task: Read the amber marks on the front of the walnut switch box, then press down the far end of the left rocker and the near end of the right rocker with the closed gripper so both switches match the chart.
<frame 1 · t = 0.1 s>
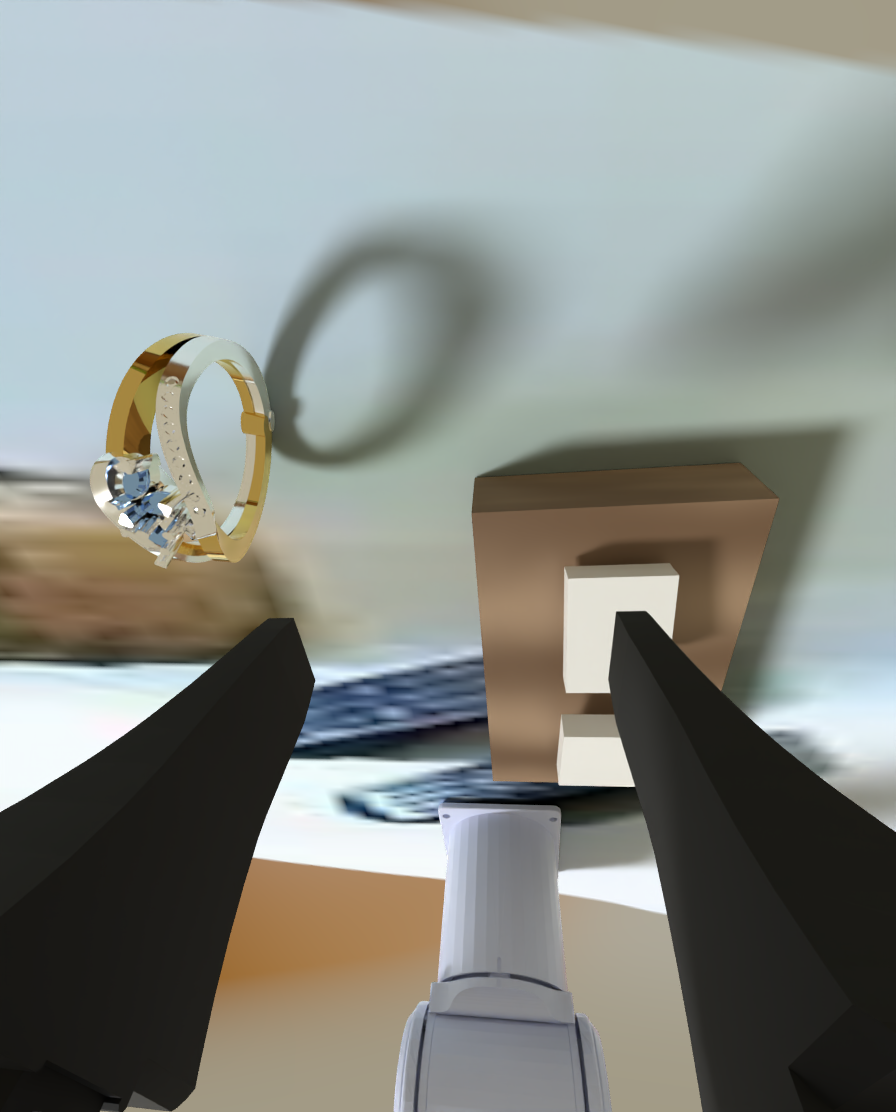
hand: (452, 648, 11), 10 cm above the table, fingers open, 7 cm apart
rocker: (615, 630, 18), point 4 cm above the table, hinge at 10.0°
ring: (266, 416, 19), on the table
switch box: (590, 626, 23), on the table
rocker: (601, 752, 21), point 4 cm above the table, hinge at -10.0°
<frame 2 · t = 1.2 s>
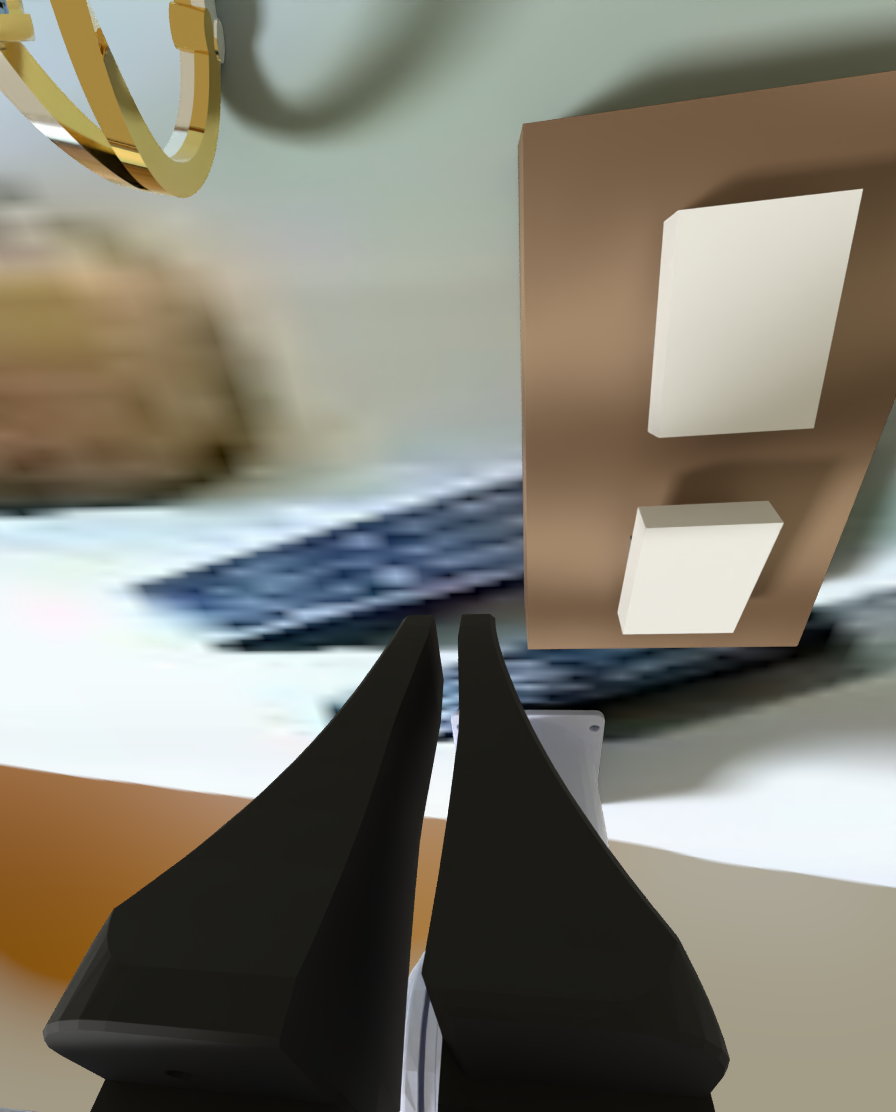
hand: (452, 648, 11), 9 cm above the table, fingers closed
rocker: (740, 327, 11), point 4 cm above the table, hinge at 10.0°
ring: (212, 43, 13), on the table
switch box: (665, 420, 17), on the table
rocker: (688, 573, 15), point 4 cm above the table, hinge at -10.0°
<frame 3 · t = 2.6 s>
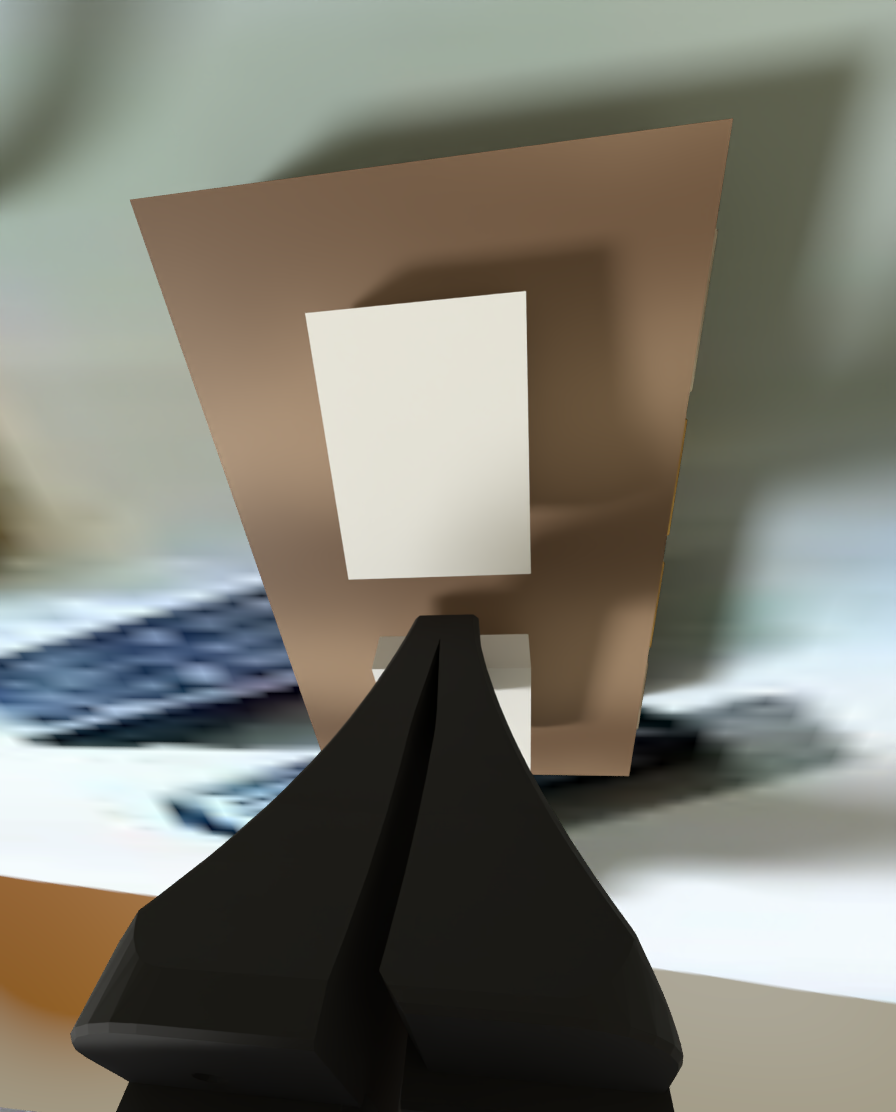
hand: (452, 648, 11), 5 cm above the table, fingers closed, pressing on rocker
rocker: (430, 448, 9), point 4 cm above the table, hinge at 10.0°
switch box: (459, 517, 15), on the table
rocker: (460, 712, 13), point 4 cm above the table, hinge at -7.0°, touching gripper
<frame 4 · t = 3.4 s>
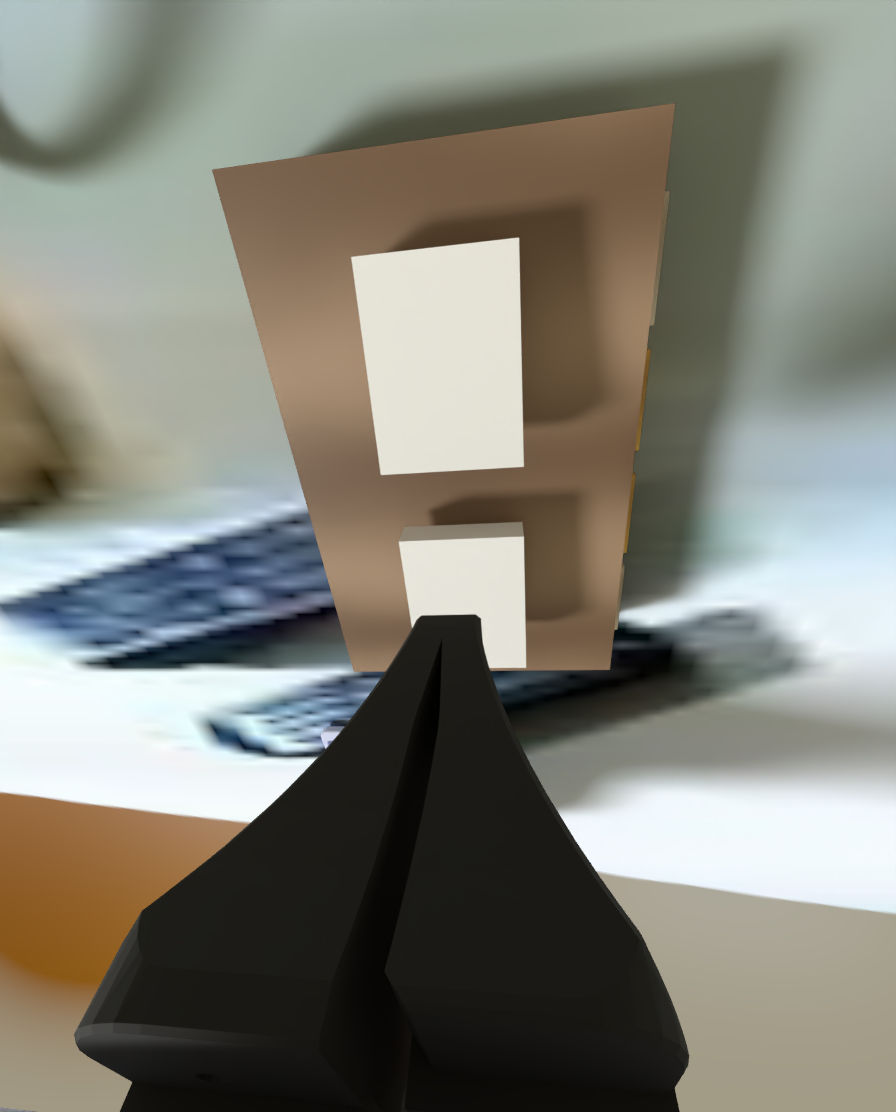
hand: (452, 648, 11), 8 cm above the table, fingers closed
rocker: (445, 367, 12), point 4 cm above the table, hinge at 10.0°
switch box: (465, 447, 17), on the table
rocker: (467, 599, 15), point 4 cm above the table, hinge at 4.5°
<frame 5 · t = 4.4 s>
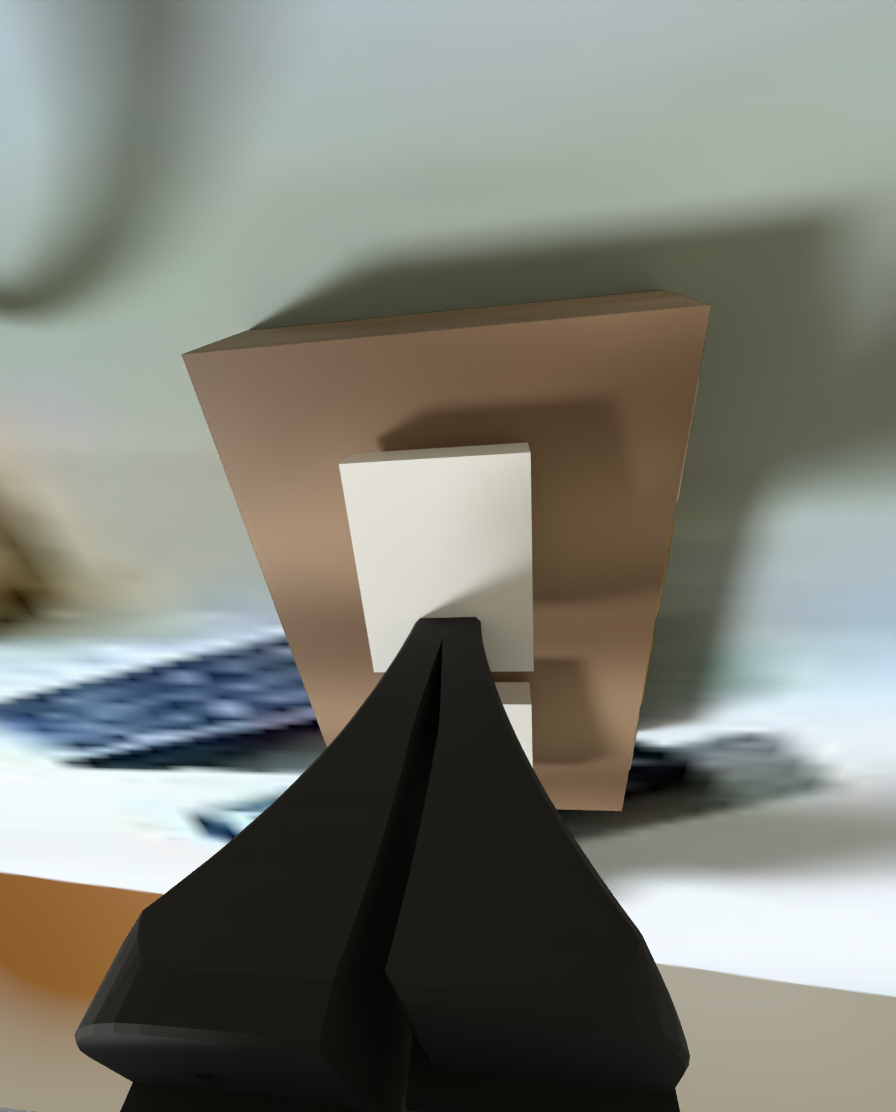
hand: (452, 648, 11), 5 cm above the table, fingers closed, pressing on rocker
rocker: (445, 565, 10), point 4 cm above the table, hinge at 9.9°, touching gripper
switch box: (467, 581, 16), on the table
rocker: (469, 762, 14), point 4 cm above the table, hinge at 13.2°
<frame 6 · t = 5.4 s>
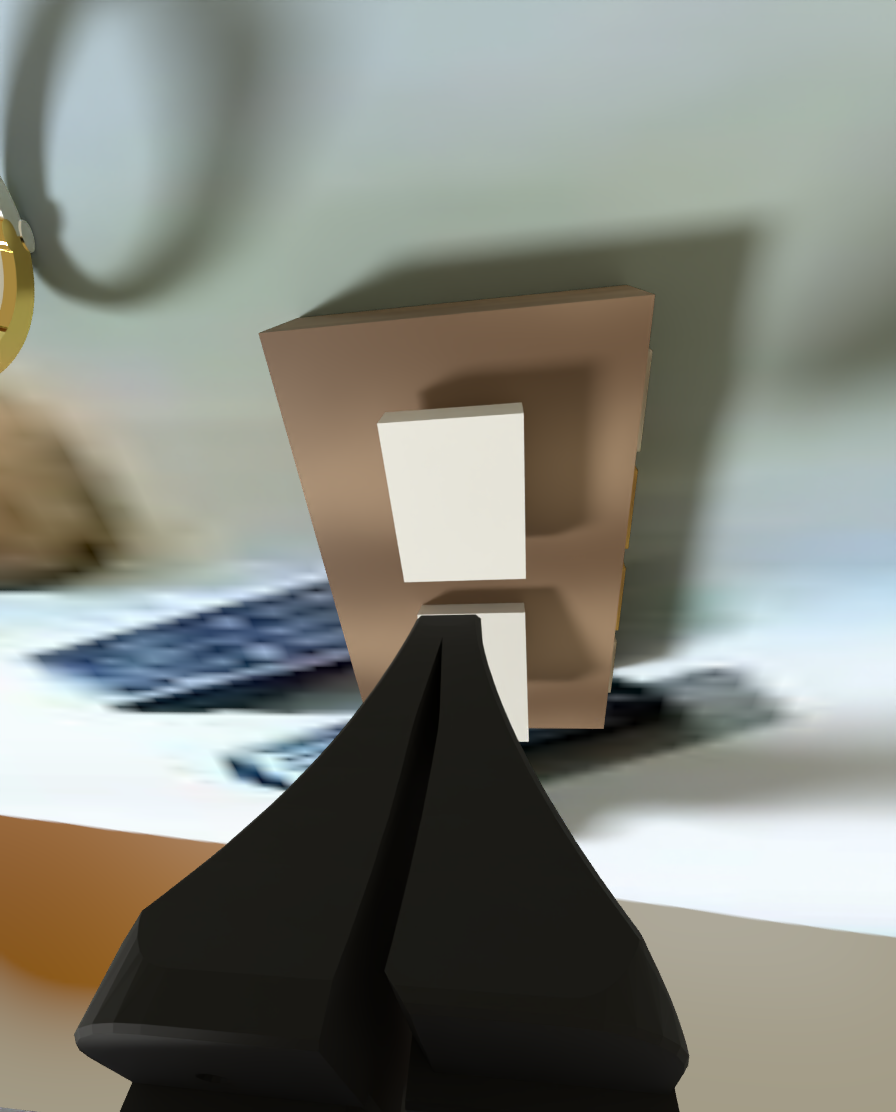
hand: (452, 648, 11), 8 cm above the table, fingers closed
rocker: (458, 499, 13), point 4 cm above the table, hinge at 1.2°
ring: (25, 233, 15), on the table
switch box: (473, 530, 19), on the table
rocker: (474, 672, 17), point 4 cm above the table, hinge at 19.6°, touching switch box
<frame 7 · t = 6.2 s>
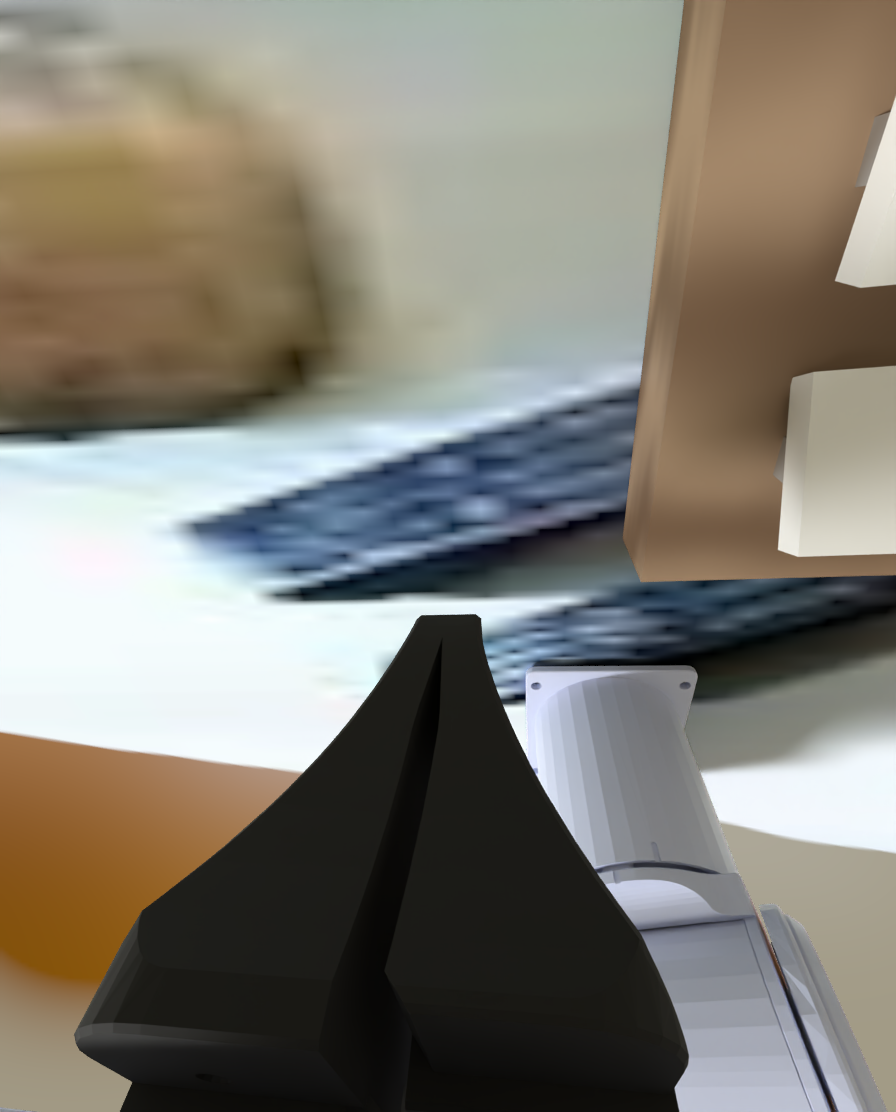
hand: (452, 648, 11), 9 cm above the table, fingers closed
switch box: (817, 307, 15), on the table
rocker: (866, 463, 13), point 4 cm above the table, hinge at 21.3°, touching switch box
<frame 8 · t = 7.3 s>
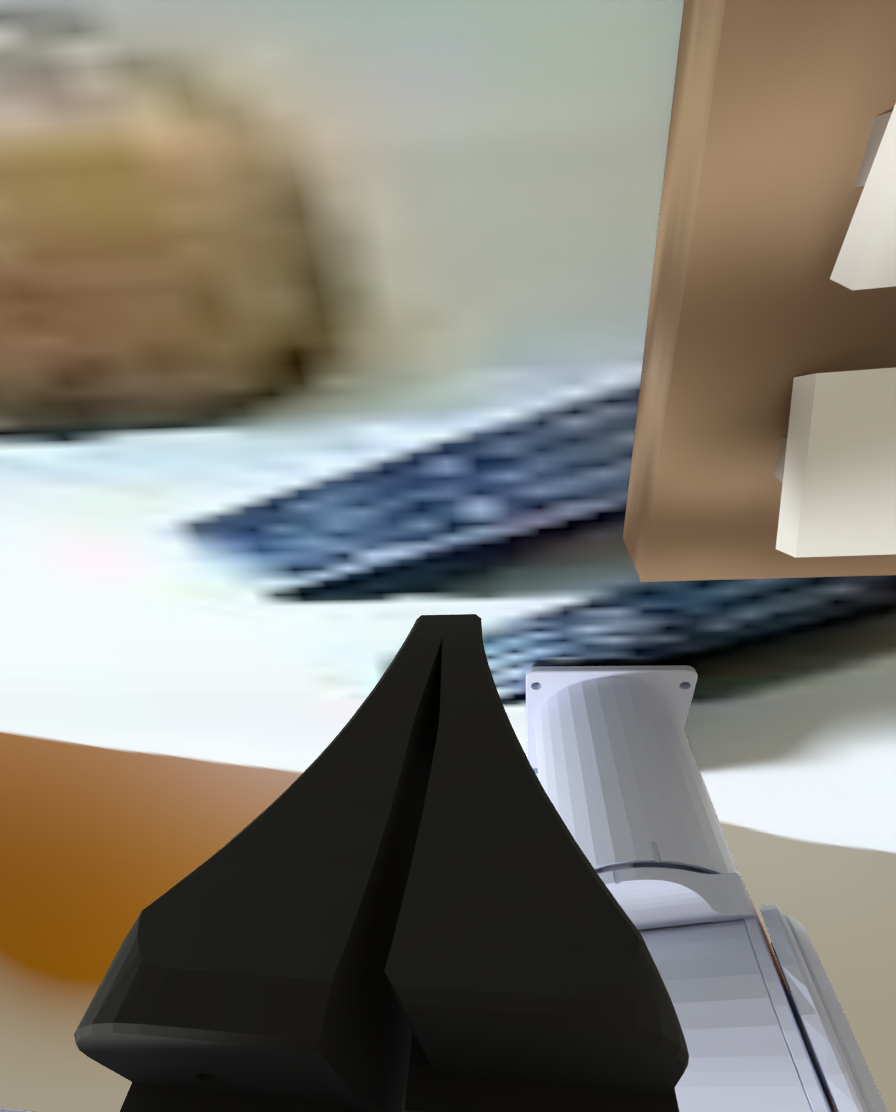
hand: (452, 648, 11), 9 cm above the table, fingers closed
switch box: (817, 307, 15), on the table
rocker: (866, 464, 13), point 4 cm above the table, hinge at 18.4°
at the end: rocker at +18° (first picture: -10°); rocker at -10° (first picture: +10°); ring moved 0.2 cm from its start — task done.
